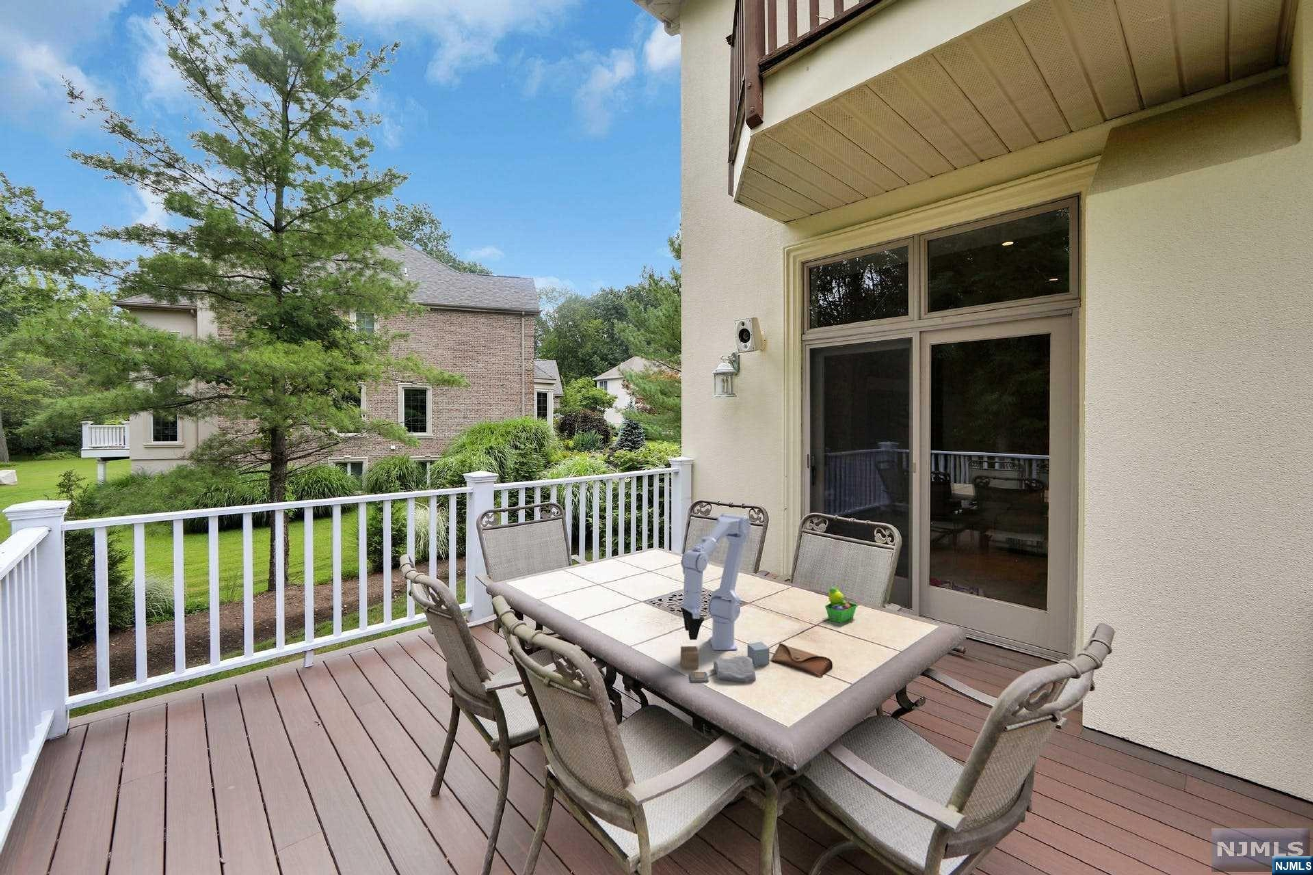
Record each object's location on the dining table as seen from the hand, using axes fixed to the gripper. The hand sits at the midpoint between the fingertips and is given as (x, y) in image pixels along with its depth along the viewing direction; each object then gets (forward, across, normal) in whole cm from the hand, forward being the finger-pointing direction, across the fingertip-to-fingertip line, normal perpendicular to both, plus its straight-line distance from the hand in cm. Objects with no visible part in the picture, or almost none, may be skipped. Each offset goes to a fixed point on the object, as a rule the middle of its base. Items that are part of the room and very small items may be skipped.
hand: (690, 634), depth 160 cm
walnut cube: (+10, -1, 0) cm, 10 cm away
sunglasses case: (+9, +2, +34) cm, 36 cm away
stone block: (+10, +6, +13) cm, 17 cm away
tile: (+10, +7, +2) cm, 12 cm away
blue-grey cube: (+9, -2, +22) cm, 24 cm away
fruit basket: (+5, -34, +64) cm, 73 cm away
